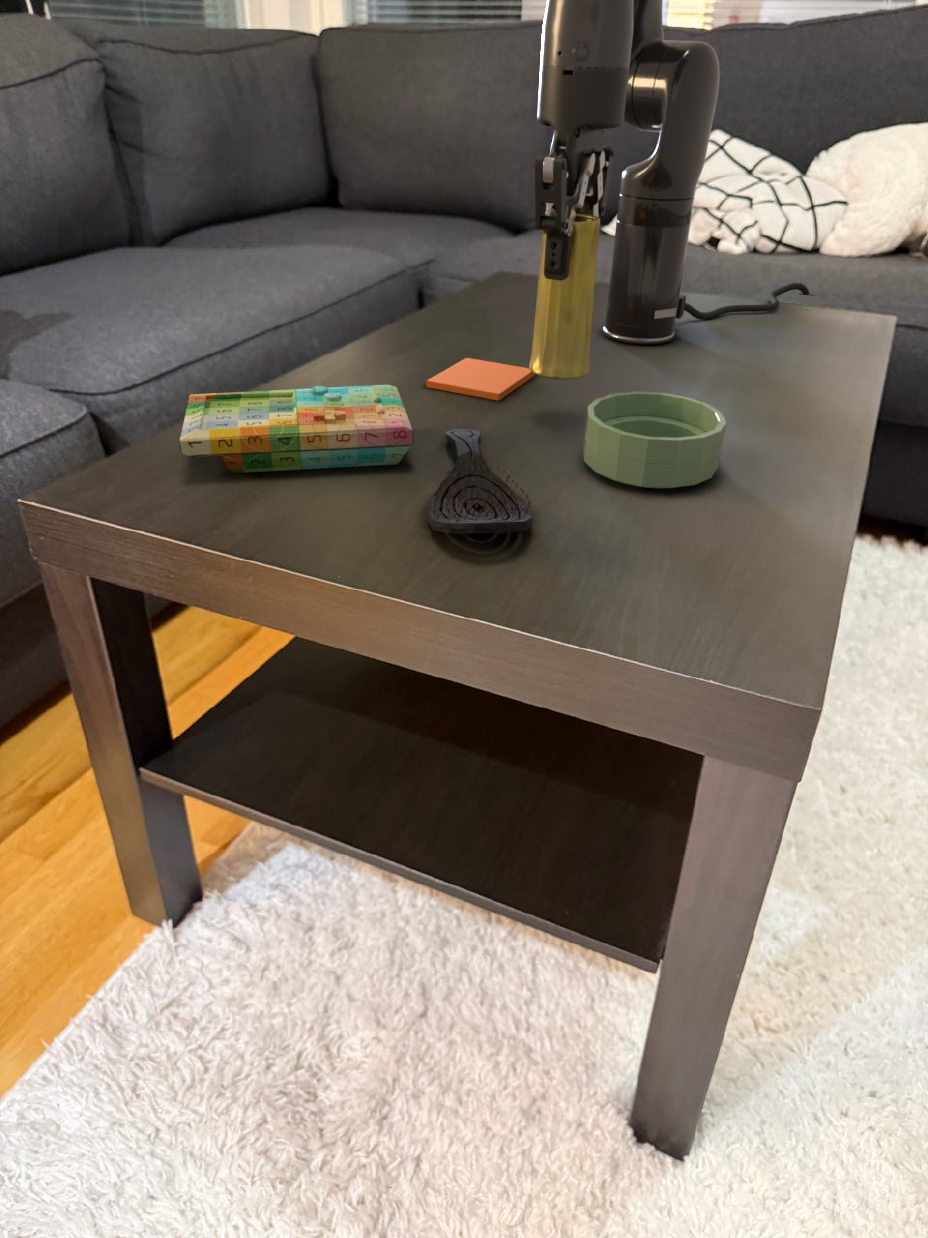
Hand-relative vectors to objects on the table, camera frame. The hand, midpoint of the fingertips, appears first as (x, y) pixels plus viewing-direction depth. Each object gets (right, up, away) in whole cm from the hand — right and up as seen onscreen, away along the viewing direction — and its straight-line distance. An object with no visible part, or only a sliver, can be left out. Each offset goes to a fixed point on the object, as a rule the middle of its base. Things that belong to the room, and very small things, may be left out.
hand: (567, 272), depth 83 cm
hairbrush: (-9, -22, -7) cm, 25 cm away
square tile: (-8, -6, +17) cm, 20 cm away
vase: (0, -8, +5) cm, 10 cm away
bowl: (+7, -19, -2) cm, 20 cm away
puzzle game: (-25, -17, 0) cm, 31 cm away
